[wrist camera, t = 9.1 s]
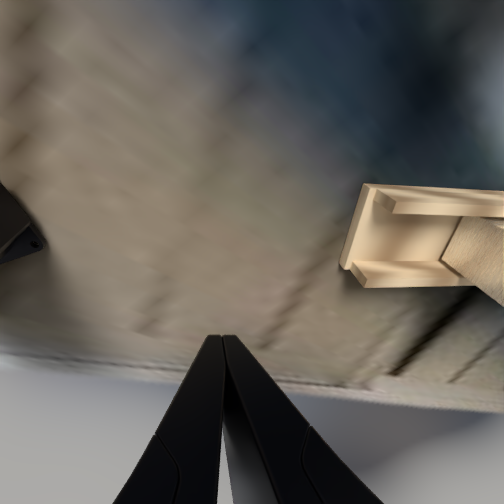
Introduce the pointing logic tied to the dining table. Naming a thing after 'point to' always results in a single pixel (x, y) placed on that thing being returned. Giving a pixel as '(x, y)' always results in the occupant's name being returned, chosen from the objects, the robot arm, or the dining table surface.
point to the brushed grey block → (479, 253)
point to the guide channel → (411, 233)
